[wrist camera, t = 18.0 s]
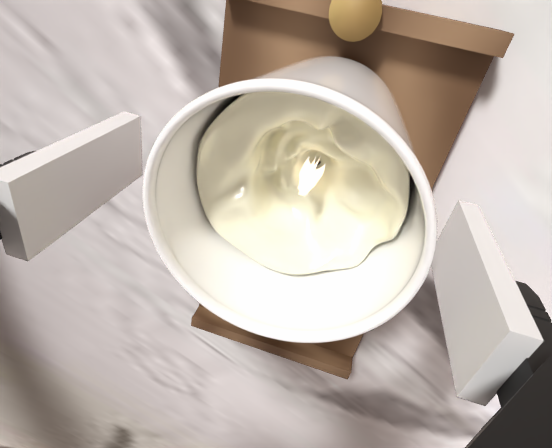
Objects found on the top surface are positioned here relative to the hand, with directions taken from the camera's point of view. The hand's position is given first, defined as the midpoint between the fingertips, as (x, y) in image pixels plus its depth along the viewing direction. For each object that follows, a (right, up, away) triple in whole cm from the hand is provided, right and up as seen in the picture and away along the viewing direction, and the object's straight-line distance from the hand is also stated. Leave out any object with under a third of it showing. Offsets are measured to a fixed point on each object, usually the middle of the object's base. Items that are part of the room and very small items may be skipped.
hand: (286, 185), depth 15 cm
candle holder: (+3, +4, +7) cm, 9 cm away
